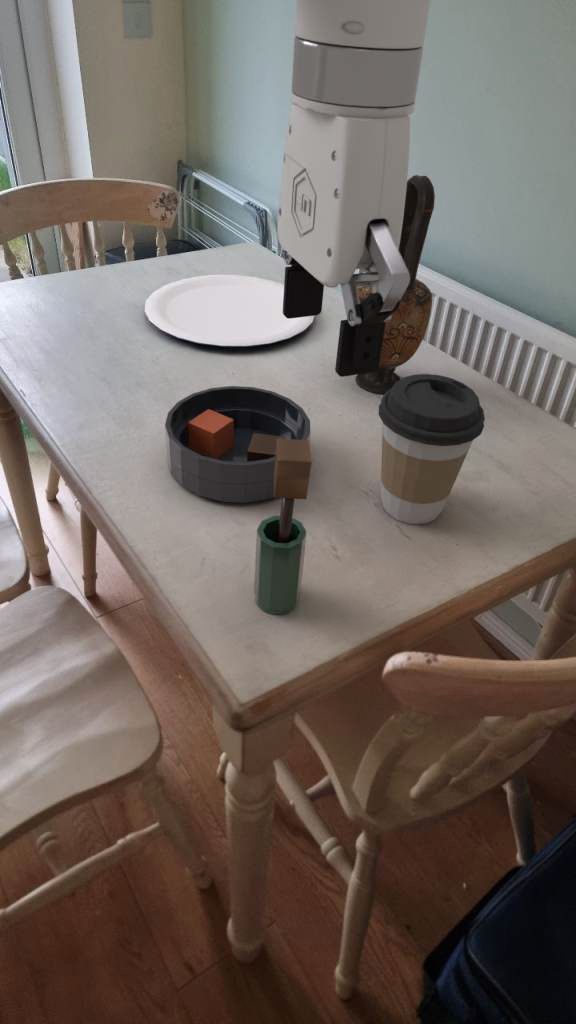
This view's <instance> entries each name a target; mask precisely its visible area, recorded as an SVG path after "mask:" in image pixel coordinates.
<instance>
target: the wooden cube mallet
mask: <svg viewBox="0 0 576 1024" xmlns="http://www.w3.org/2000/svg"><path fill="white" fill-rule="evenodd" d="M311 454H312V453H311V445H310V442H309V440H292V439H277V442H276V453H275V463H274V473H273V483H274V497H273V498H274V499H281V503H280V512H279V516H280V520H279V530H278V539H277V543H289V540H290V532H291V524H292V518H293V516H294V508H295V500H307V497H308V489H309V482H310V475H311V468H312V455H311Z"/></svg>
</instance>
